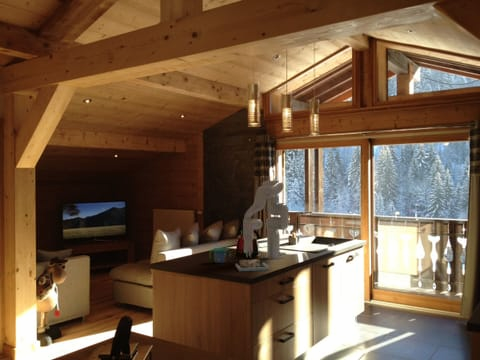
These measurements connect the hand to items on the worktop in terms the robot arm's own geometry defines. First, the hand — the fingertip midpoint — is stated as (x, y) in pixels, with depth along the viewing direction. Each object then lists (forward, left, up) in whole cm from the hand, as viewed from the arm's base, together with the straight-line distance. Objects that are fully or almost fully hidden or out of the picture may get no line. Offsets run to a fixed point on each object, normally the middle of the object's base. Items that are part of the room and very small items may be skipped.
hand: (248, 262), depth 331 cm
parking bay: (0, +12, -1) cm, 12 cm away
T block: (0, +9, -1) cm, 9 cm away
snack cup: (+19, -13, -2) cm, 23 cm away
